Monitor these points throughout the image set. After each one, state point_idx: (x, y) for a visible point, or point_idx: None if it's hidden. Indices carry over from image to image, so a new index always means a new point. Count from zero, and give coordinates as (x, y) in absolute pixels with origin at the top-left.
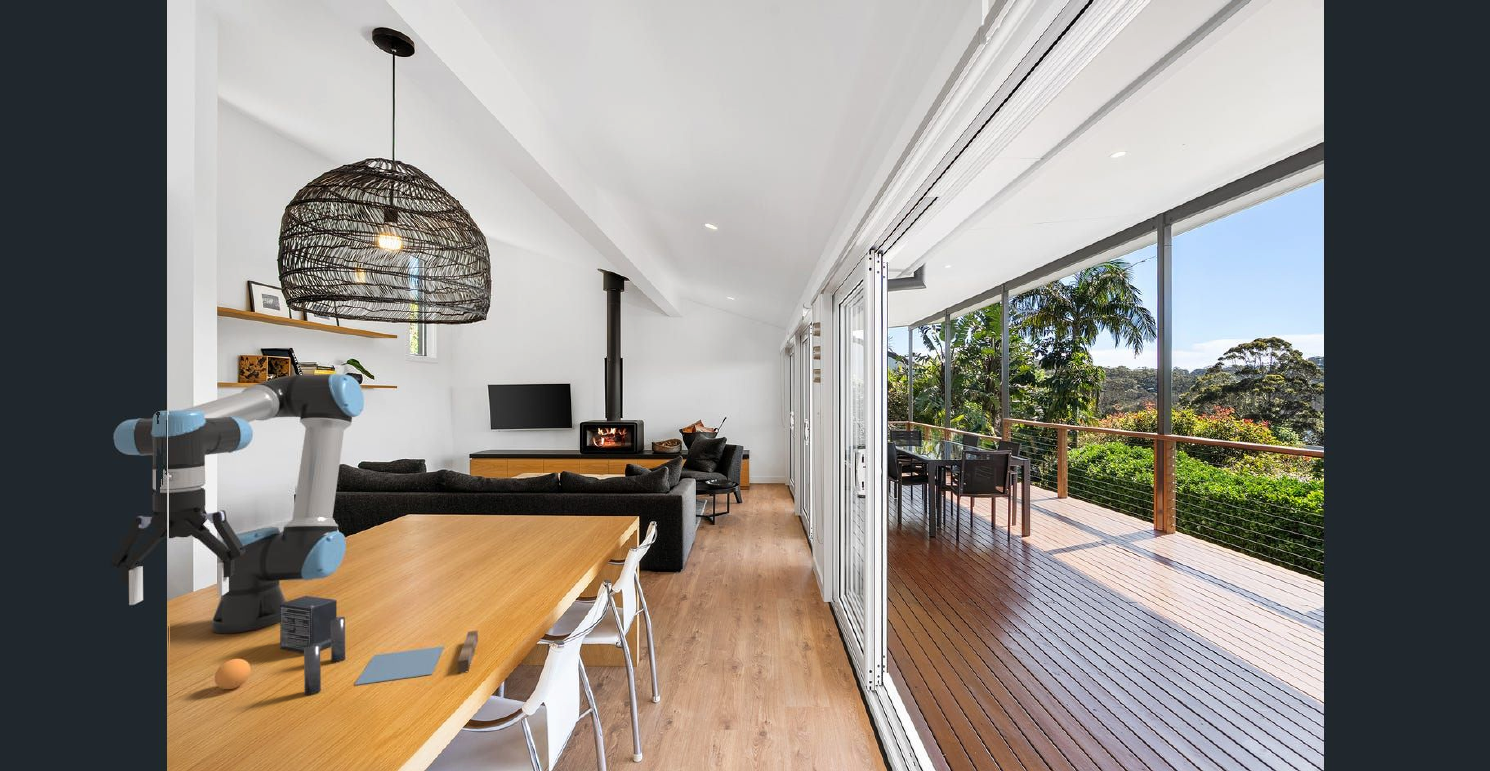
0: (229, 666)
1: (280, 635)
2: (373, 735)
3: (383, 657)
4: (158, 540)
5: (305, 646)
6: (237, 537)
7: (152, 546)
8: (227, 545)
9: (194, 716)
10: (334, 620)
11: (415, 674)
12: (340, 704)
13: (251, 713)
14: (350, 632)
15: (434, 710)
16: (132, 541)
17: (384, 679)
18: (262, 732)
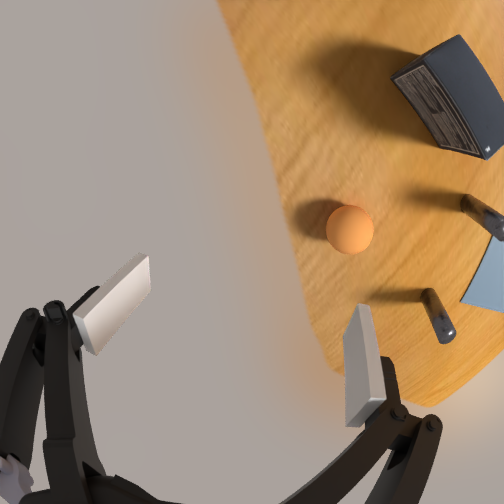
0: (348, 251)
1: (398, 74)
2: (432, 386)
3: None
4: (91, 453)
5: (442, 334)
6: (424, 486)
7: (84, 422)
8: (377, 483)
9: (314, 288)
10: (499, 235)
11: (499, 307)
12: None
13: None
14: None
15: (472, 370)
16: (33, 420)
17: (481, 304)
18: None
